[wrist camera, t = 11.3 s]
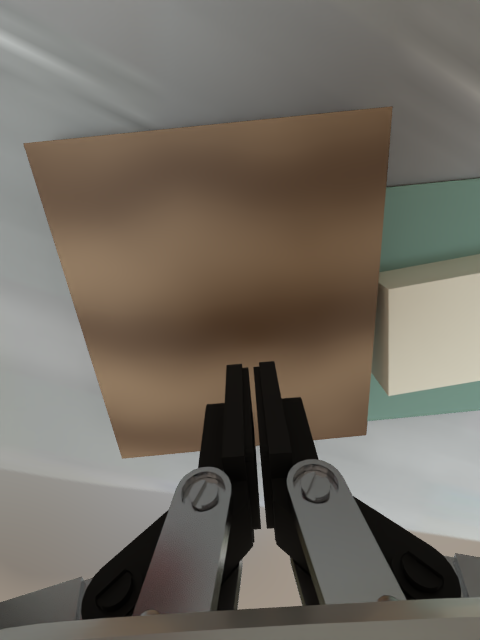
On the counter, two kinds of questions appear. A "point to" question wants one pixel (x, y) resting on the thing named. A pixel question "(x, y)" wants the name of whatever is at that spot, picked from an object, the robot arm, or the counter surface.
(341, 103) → the counter surface
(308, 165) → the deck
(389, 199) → the mat
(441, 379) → the tile
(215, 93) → the counter surface
